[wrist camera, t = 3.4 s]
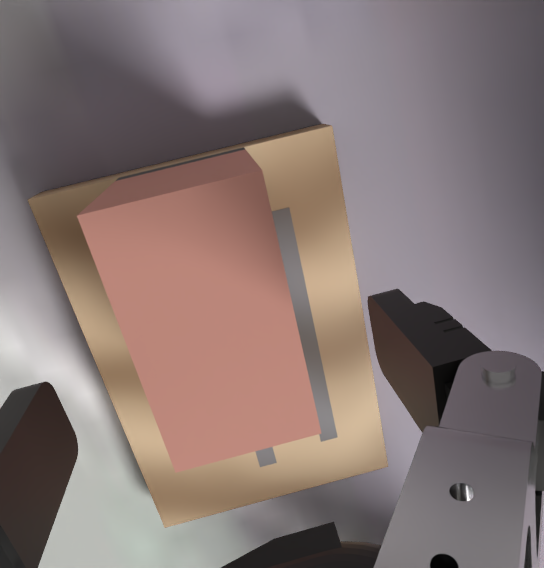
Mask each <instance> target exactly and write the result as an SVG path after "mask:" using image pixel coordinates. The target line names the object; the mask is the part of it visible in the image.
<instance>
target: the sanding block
mask: <svg viewBox="0 0 544 568" xmlns="http://www.w3.org/2000/svg"><path fill="white" fill-rule="evenodd" d="M77 218H78V220H79V223H80V225H81V228H82V231H83V233H84V236H85V238H86V241H87V244H88V246H89V249H90V251H91V254H92V257H93V259H94V262H95V264H96V267H97V270H98V272H99V275H100V277H101V280H102V283H103V285H104V288H105V290H106V293H107V296H108V298H109V301H110V303H111V306H112V309H113V311H114V314H115V316H116V319H117V322H118V324H119V327H120V329H121V332H122V335H123V337H124V340H125V343H126V345H127V348H128V350H129V353H130V356H131V358H132V361H133V363H134V366H135V369H136V371H137V374H138V376H139V379H140V382H141V384H142V387H143V389H144V392H145V395H146V397H147V400H148V402H149V405H150V408H151V410H152V413H153V415H154V418H155V421H156V423H157V426H158V428H159V431H160V434H161V436H162V439H163V441H164V444H165V447H166V449H167V452H168V454H169V457H170V460H171V462H172V465H173V467H174V470H175V473H177V472H180V471H184V470H188V469H192V468H195V467H199V466H203V465H206V464H210V463H214V462H218V461H221V460H225V459H229V458H232V457H236V456H240V455H244V454H247V453H251V452H255V451H258V450H262V449H266V448H269V447H273V446H277V445H281V444H284V443H288V442H292V441H295V440H299V439H303V438H307V437H310V436H314V435H318V434H321V429H320V424H319V420H318V415H317V411H316V407H315V402H314V398H313V393H312V389H311V384H310V380H309V375H308V371H307V367H306V362H305V358H304V353H303V349H302V344H301V340H300V335H299V331H298V327H297V322H296V318H295V313H294V309H293V304H292V300H291V296H290V291H289V287H288V282H287V278H286V273H285V269H284V264H283V260H282V256H281V251H280V247H279V242H278V238H277V233H276V229H275V224H274V220H273V216H272V211H271V207H270V202H269V198H268V193H267V189H266V184H265V180H264V176H263V171H262V169H261V168H260V167H259V165H258V164H257V163H256V162H255V161H254V159H253V158H252V157H251V156H250V154H249V153H248V152H247V151H246V149H245V148H244V147H243V148H238V149H234V150H230V151H226V152H222V153H218V154H214V155H210V156H206V157H202V158H197V159H193V160H189V161H185V162H181V163H177V164H173V165H169V166H165V167H160V168H156V169H152V170H148V171H144V172H140V173H136V174H132V175H128V176H124V177H119V178H118V179H117V180H116V181H115V182H114V183H112V184H111V185H110V186H109V187H108V188H107V189H106V190H105V191H104V192H103V193H101V194H100V195H99V196H98V197H97V198H96V199H95V200H94V201H93V202H91V203H90V204H89V205H88V206H87V207H86V208H85V209H84V210H83V211H81V212H80V213H79V214H78V215H77Z"/></svg>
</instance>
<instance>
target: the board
mask: <svg viewBox="0 0 544 568" xmlns="http://www.w3.org/2000/svg"><path fill="white" fill-rule="evenodd" d="M243 147H244V148H245V149H246V151H247V152H248V153H249V154H250V156H251V157H252V158H253V159H254V161H255V162H256V163H257V164H258V165H259V167H260V168H261V169H262V171H263V176H264V180H265V184H266V189H267V193H268V198H269V202H270V207H271V211H272V216H273V220H274V224H275V229H276V233H277V238H278V242H279V247H280V251H281V256H282V260H283V264H284V269H285V273H286V278H287V282H288V287H289V291H290V296H291V300H292V304H293V309H294V313H295V318H296V322H297V327H298V331H299V335H300V340H301V344H302V349H303V353H304V358H305V362H306V367H307V371H308V375H309V380H310V384H311V389H312V393H313V398H314V402H315V407H316V411H317V415H318V420H319V424H320V429H321V434H318V435H314V436H310V437H307V438H303V439H299V440H295V441H292V442H288V443H284V444H281V445H277V446H273V447H269V448H266V449H262V450H258V451H255V452H251V453H247V454H244V455H240V456H236V457H232V458H229V459H225V460H221V461H218V462H214V463H210V464H206V465H203V466H199V467H195V468H192V469H188V470H184V471H180V472H177V473H175V470H174V467H173V465H172V462H171V460H170V457H169V454H168V452H167V449H166V447H165V444H164V441H163V439H162V436H161V434H160V431H159V428H158V426H157V423H156V421H155V418H154V415H153V413H152V410H151V408H150V405H149V402H148V400H147V397H146V395H145V392H144V389H143V387H142V384H141V382H140V379H139V376H138V374H137V371H136V369H135V366H134V363H133V361H132V358H131V356H130V353H129V350H128V348H127V345H126V343H125V340H124V337H123V335H122V332H121V329H120V327H119V324H118V322H117V319H116V316H115V314H114V311H113V309H112V306H111V303H110V301H109V298H108V296H107V293H106V290H105V288H104V285H103V283H102V280H101V277H100V275H99V272H98V270H97V267H96V264H95V262H94V259H93V257H92V254H91V251H90V249H89V246H88V244H87V241H86V238H85V236H84V233H83V231H82V228H81V225H80V223H79V220H78V218H77V215H78V214H79V213H80V212H81V211H83V210H84V209H85V208H86V207H87V206H88V205H89V204H90V203H91V202H93V201H94V200H95V199H96V198H97V197H98V196H99V195H100V194H101V193H103V192H104V191H105V190H106V189H107V188H108V187H109V186H110V185H111V184H112V183H114V182H115V181H116V180H117V179H118V178H119V177H124V176H128V175H132V174H136V173H140V172H144V171H148V170H152V169H156V168H160V167H165V166H169V165H173V164H177V163H181V162H185V161H189V160H193V159H197V158H202V157H206V156H210V155H214V154H218V153H222V152H226V151H230V150H234V149H238V148H243ZM28 202H29V205H30V207H31V209H32V212H33V214H34V217H35V219H36V221H37V224H38V226H39V228H40V231H41V233H42V236H43V238H44V240H45V243H46V245H47V248H48V250H49V252H50V255H51V257H52V260H53V262H54V264H55V267H56V269H57V271H58V274H59V276H60V279H61V281H62V283H63V286H64V288H65V291H66V293H67V295H68V298H69V300H70V303H71V305H72V307H73V310H74V312H75V314H76V317H77V319H78V322H79V324H80V326H81V329H82V331H83V334H84V336H85V338H86V341H87V343H88V345H89V348H90V350H91V353H92V355H93V357H94V360H95V362H96V365H97V367H98V369H99V372H100V374H101V377H102V379H103V381H104V384H105V386H106V388H107V391H108V393H109V396H110V398H111V400H112V403H113V405H114V408H115V410H116V412H117V415H118V417H119V419H120V422H121V424H122V427H123V429H124V431H125V434H126V436H127V439H128V441H129V443H130V446H131V448H132V451H133V453H134V455H135V458H136V460H137V462H138V465H139V467H140V470H141V472H142V474H143V477H144V479H145V482H146V484H147V486H148V489H149V491H150V493H151V496H152V498H153V501H154V503H155V505H156V508H157V510H158V513H159V515H160V517H161V520H162V522H163V525H164V527H165V528H166V527H169V526H173V525H177V524H180V523H184V522H188V521H191V520H195V519H199V518H202V517H206V516H210V515H213V514H217V513H221V512H224V511H228V510H231V509H235V508H239V507H242V506H246V505H250V504H253V503H257V502H261V501H264V500H268V499H272V498H275V497H279V496H283V495H286V494H290V493H294V492H297V491H301V490H305V489H308V488H312V487H315V486H319V485H323V484H326V483H330V482H334V481H337V480H341V479H345V478H348V477H352V476H356V475H359V474H363V473H367V472H370V471H374V470H378V469H381V468H385V467H388V462H387V456H386V450H385V444H384V438H383V432H382V426H381V420H380V414H379V407H378V401H377V395H376V389H375V383H374V377H373V371H372V365H371V359H370V353H369V347H368V341H367V335H366V329H365V323H364V316H363V310H362V304H361V298H360V292H359V286H358V280H357V274H356V268H355V262H354V256H353V250H352V244H351V238H350V231H349V225H348V219H347V213H346V207H345V201H344V195H343V189H342V183H341V177H340V171H339V165H338V159H337V153H336V146H335V140H334V134H333V128H332V126H331V125H326V124H319V125H315V126H311V127H307V128H303V129H299V130H295V131H291V132H287V133H282V134H278V135H274V136H270V137H266V138H262V139H258V140H254V141H250V142H245V143H241V144H237V145H233V146H229V147H225V148H221V149H217V150H213V151H208V152H204V153H200V154H196V155H192V156H188V157H184V158H180V159H176V160H171V161H167V162H163V163H159V164H155V165H151V166H147V167H143V168H139V169H134V170H130V171H126V172H122V173H118V174H114V175H110V176H106V177H102V178H97V179H93V180H89V181H85V182H81V183H77V184H73V185H69V186H65V187H60V188H56V189H52V190H48V191H44V192H41V193H39V194H37V195H35V196H33V197H32V198H30V199H28Z"/></svg>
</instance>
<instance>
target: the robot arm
mask: <svg viewBox="0 0 544 568" xmlns="http://www.w3.org/2000/svg"><path fill="white" fill-rule="evenodd" d="M368 309H369V315H370V321H371V327H372V333H373V339H374V345H375V351H376V355H377V359H378V362H379V365H380V368H381V370H382V372H383V374H384V376H385V377H386V379H387V380H388V382H389V383H390V385H391V386H392V388H393V389H394V391H395V392H396V394H397V395H398V397H399V398H400V400H401V401H402V403H403V404H404V406H405V407H406V409H407V410H408V412H409V413H410V415H411V416H412V418H413V419H414V421H415V422H416V424H417V425H418V427H419V428H420V430H421V431H422V436H421V439H420V441H419V444H418V447H417V450H416V452H415V455H414V458H413V461H412V463H411V466H410V469H409V472H408V474H407V477H406V480H405V483H404V485H403V488H402V491H401V494H400V496H399V499H398V502H397V505H396V507H395V510H394V513H393V516H392V518H391V521H390V524H389V527H388V529H387V532H386V535H385V538H384V540H383V543H382V546H381V545H376V544H371V543H365V542H352V541H351V542H340V540H339V537H338V534H337V530H336V527H335V524H334V522H332V523H328V524H325V525H321V526H318V527H314V528H311V529H307V530H304V531H300V532H297V533H293V534H290V535H286V536H283V537H279V538H276V539H273V540H271V541H270V542H268V543H266V544H264V545H262V546H260V547H258V548H257V549H255V550H253V551H251V552H249V553H247V554H245V555H244V556H242V557H240V558H238V559H236V560H234V561H232V562H230V563H229V564H227V565H225V566H223V567H221V568H539V562H540V547H541V531H542V516H543V500H544V372H541V369H540V367H539V366H538V365H537V364H536V363H535V362H534V361H533V360H531V359H530V358H528V357H526V356H523V355H520V354H517V353H513V352H507V351H492V350H490V349H489V348H488V347H487V346H486V345H485V344H483V343H482V342H481V341H480V340H479V339H478V338H476V337H475V336H474V335H473V334H472V333H471V332H469V331H468V330H467V329H466V328H463V326H462V325H461V324H460V323H459V322H458V321H457V320H455V319H453V317H452V316H451V315H450V314H448V313H447V312H446V311H445V310H444V309H443V308H441V307H438V306H435V305H432V304H430V303H427V302H420V303H417V304H414V303H413V302H412V301H411V300H410V299H409V298H408V297H407V296H405V295H404V294H403V293H402V292H401V291H400V290H399V289H394V290H390V291H387V292H383V293H379V294H375V295H372V296H369V297H368ZM77 455H78V443H77V438H76V435H75V432H74V430H73V428H72V425H71V423H70V421H69V419H68V417H67V415H66V413H65V411H64V408H63V406H62V404H61V402H60V400H59V398H58V396H57V394H56V391H55V390H54V388H53V386H52V385H51V384H50V383H48V382H42V383H38V384H35V385H31V386H27V387H23V388H20V389H16V390H14V391H12V392H11V394H10V395H9V397H8V398H7V400H6V401H5V403H4V404H3V406H2V407H1V409H0V568H38V565H39V563H40V560H41V557H42V554H43V551H44V549H45V546H46V543H47V540H48V538H49V535H50V532H51V529H52V526H53V524H54V521H55V518H56V515H57V512H58V510H59V507H60V504H61V501H62V499H63V496H64V493H65V490H66V487H67V485H68V482H69V479H70V476H71V473H72V471H73V468H74V465H75V462H76V459H77Z"/></svg>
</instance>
